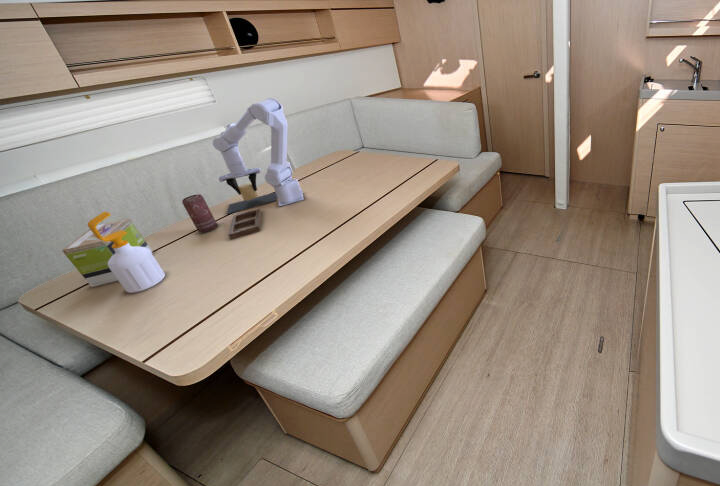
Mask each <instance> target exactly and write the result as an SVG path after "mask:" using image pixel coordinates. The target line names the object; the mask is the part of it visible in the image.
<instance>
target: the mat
mask: <svg viewBox="0 0 720 486" xmlns="http://www.w3.org/2000/svg"><path fill="white" fill-rule="evenodd" d="M277 199H278V197H277V195H276V192H275V191H274V192H271V193H267V194H263V195H260V196H257V197H256V198H254V199H252V200H247V201H245V200H241V201H238V202H234V203H230V204H229V205H228V209H227V211H226V214H227V215H230V214H233V213H237V212H241V211H244V210H249V209H252V208H256V207H260V206H263V205H266V204H271V203H274V202H277Z"/></svg>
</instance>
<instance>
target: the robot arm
mask: <svg viewBox="0 0 720 486" xmlns="http://www.w3.org/2000/svg"><path fill="white" fill-rule="evenodd" d="M255 120H258V121H260V122H261V123H263V124H265V125H266V126H268V127H270V130H271V131H270V139H271V140H270V163H269V165H268V167H267V169H266V173H265V175H264V179H265V182H266V183H267V184H268V185H269V186H271V187H273V189H274V193H275V192H276V195H277V199H278V207H283V206H287V205H291V204H294V203H297V202H301V201H304V192H303V189H302V188H301V185H300V182H299V180H298V179H297V178H293V177H292V176H293V173H294V172H293V169H292V167H291V165H292V164H291V163H290V162H289V161H288V135H289V134H288V133H289V132H288V131H289V129H288V127H289V124H288V121H287V118H286V116H285V113H284V105H282V104H281V103H280V102H279V100H277V99H276V98H273V97H271V98H267V99H264V100H261V101H259V102H253V103H252V104H251V105H250V106H249V107H247V109H246V111H245V112H243V114H242V116H241V117H240V118H239V120H238V121H236V122H233V123H229V124H227V125H226V129H225V130H224V131H222V132H220V136H217V137H214V138H213V140H212V146H213V147H214V149H215V150H217V151H218V152H220V154H221V156H222V158H223V161H224V162H225V165H226V167H227V169H228V171H229V173H227V174H224V175H220V176H218V177H217V178H218V181H219V182H220V183H223V182H226V184H227V185H228V186H230V187H231V188H232V189H233V190H234V191H235V192H236V193H237V194H238V195H239V196H242V195H241V193H240V191H239V188H238V187H239V186H240V185H239V184H238V181H237V179H239V178H243V177H248V179H249V183H252V186H253V188H254V191H256V192H257V191H258V187H257V175H258V174H261V173H262V170H261V167H256V168H248V169H247V166H246V164H245V163H244V159H243V157H242V154H241V152H240V150H239V149H240V148H239V141H240V140H241V139H242V138H243V137H244V136H245V135H246V134H247V128H248V127H249V126H250V125H251V124H252V123H253V122H255Z"/></svg>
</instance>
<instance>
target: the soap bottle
mask: <svg viewBox="0 0 720 486" xmlns="http://www.w3.org/2000/svg"><path fill="white" fill-rule="evenodd" d="M110 216H112V213H110V212H107V211H103V212H101V213H100V214H98V215H96V216H95V217H93V218H92V219H90V220H89V221H88V222H87V227H88V228H89V229H90V230H91V231H92V232H93V234H94V235H95V237H96V238H98V239H100V240H102V241H105V242H108V241H110V242H114V243H115V244H114V245H112V247H113V249H114V251H115V254H114V255H113V256H112V257H111V258H110V259H109V261H108V267H109V268H110V270H111V271H112V272H113V274H114V275H115V277H116V278H117V279H118V281H117V282H119V283H120V285H121V286H122V288H123V289H124V291H125V292H126V293H130V294H133V293H134V294H135V293H138V292H142V291H145V290H147V289H150V288H152V287H155V286H156V285H157V284H159V283H160V282H161V281H163V280H164V278H165V276H166V273H165V271H164V269H163V268H162V266H160V264H159V262H158V260H156V258H155V256H154V255H153V253H151V252H150V250H149V249H148V248H146V247H139V246H135V247H132V246H130V244H129V243H128V241H127V240H124V241H122V239H121V238H123V235H125V234H127V232H125V231H123V230H120V231H117V232H115V233H112V234H110V235H107V236H105V237H102V236H101V235H100V233H99V232H98V230H97V229H96V226H97V225H99V224H100V223H102V222H103V221H104V220H106V219H107V218H109V217H110Z"/></svg>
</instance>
